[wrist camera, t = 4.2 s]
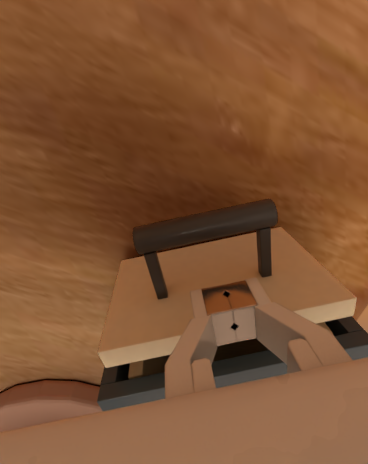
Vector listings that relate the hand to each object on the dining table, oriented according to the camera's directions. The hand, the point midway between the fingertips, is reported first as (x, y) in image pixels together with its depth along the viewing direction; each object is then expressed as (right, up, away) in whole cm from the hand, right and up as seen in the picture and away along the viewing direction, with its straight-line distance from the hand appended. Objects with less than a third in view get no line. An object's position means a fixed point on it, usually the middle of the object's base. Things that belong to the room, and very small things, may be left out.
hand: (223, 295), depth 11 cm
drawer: (0, -2, +10) cm, 10 cm away
